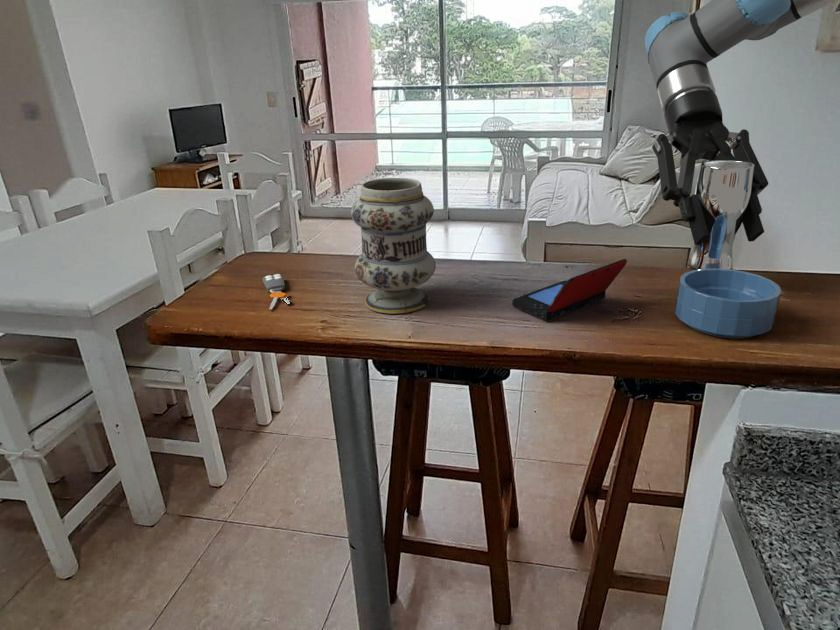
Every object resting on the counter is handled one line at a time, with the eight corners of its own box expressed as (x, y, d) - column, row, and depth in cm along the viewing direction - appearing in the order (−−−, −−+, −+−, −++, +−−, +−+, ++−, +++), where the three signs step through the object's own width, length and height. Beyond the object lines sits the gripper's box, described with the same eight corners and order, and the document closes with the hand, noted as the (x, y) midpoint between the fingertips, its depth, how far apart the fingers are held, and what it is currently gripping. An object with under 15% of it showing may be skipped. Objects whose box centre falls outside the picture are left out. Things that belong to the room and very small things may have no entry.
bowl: (728, 300, 83) (735, 264, 80) (793, 334, 72) (803, 294, 70) (656, 310, 80) (662, 274, 78) (713, 347, 70) (721, 306, 68)
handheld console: (567, 285, 90) (570, 240, 87) (624, 306, 82) (630, 257, 79) (508, 306, 84) (509, 258, 81) (564, 331, 76) (568, 279, 73)
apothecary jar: (427, 320, 81) (422, 193, 73) (347, 315, 83) (334, 192, 76) (443, 288, 91) (440, 174, 84) (371, 285, 94) (362, 174, 86)
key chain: (261, 283, 97) (259, 274, 96) (283, 279, 98) (282, 271, 97) (269, 311, 86) (267, 302, 85) (294, 307, 87) (293, 298, 86)
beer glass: (673, 264, 86) (688, 163, 80) (707, 256, 89) (724, 157, 83) (711, 278, 80) (730, 170, 74) (747, 270, 83) (768, 164, 77)
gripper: (740, 117, 91) (783, 246, 83) (616, 124, 90) (648, 255, 82) (767, 83, 84) (817, 220, 76) (633, 90, 83) (669, 229, 75)
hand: (729, 238), depth 79 cm, fingers closed on beer glass, 7 cm apart
